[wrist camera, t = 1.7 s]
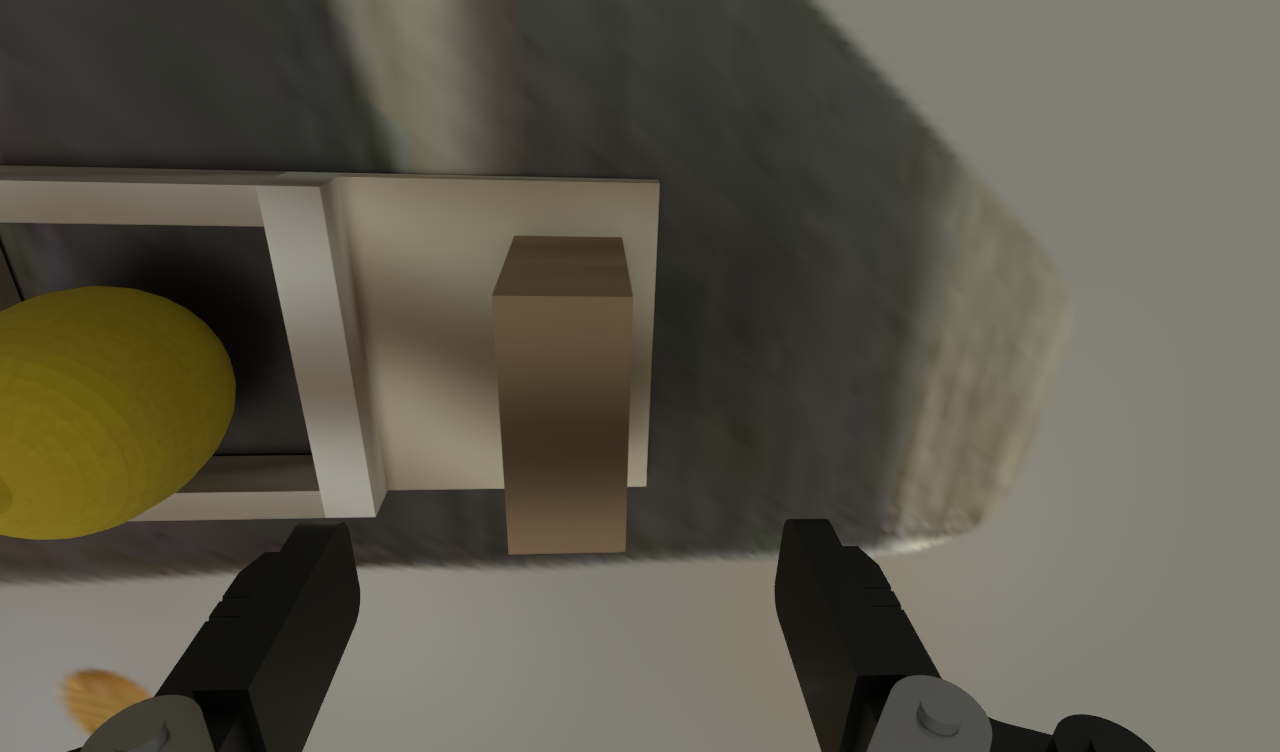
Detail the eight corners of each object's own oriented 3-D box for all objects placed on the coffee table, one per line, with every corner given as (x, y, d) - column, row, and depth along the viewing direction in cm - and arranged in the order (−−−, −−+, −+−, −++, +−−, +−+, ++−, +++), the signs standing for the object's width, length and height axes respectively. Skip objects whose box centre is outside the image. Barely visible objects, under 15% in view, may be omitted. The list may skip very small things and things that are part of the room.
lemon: (288, 278, 20) (117, 414, 12) (273, 437, 22) (121, 630, 15) (76, 226, 19) (-244, 340, 11) (83, 398, 21) (-181, 585, 14)
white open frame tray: (-95, 163, 17) (-368, 211, 12) (657, 179, 19) (683, 228, 14) (42, 484, 22) (-120, 615, 17) (644, 476, 23) (660, 594, 18)
